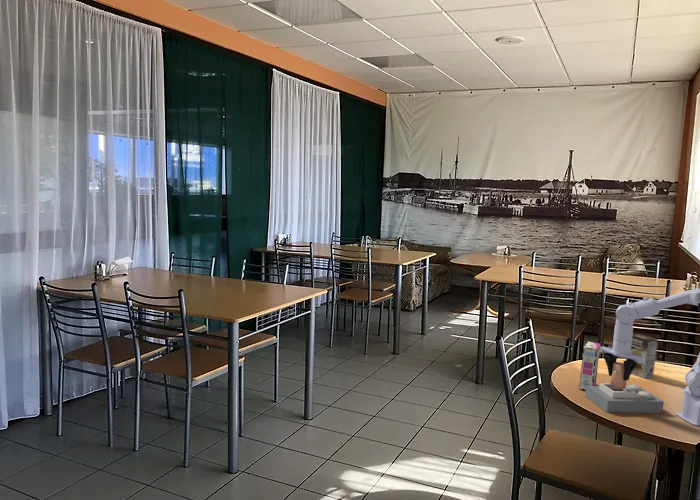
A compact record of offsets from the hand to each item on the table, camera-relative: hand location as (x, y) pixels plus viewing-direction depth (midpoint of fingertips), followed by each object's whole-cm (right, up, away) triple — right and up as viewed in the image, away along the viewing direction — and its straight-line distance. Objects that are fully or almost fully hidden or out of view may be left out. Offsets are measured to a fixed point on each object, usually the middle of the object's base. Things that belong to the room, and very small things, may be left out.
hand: (618, 377), depth 190 cm
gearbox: (+2, -10, +1) cm, 10 cm away
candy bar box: (-3, -8, +18) cm, 20 cm away
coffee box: (+26, -7, +37) cm, 46 cm away
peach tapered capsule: (0, -3, +1) cm, 3 cm away
